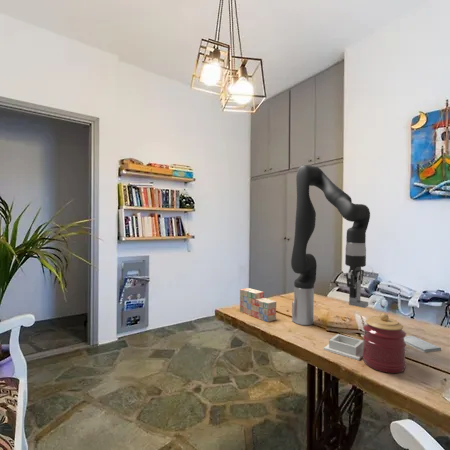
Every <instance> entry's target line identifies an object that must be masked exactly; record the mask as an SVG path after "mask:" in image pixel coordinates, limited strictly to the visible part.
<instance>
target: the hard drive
mask: <svg viewBox="0 0 450 450" xmlns="http://www.w3.org/2000/svg"><path fill="white" fill-rule="evenodd" d="M404 341H405V343H406V346H407V345H408V346H410V347H412V348H414V349H415V350H419V351H420V352H422V353H430V352H437V351H442V347H439V346H437V345H435V344H433V343H431V342H428V341H426V340H424V339H421V338H419V337H416V336H415V335H406V336H405V337H404Z"/></svg>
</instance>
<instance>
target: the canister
mask: <svg viewBox="0 0 450 450" xmlns="http://www.w3.org/2000/svg"><path fill="white" fill-rule="evenodd" d="M365 322H366V324H365V325H363V330H364V334H363V337H362V338H363V341H364V352H363V357H362V358H363V362H364V364H366V365H367V366H368V367H370V368H371V369H374V370H376V371H379V372H383V373H388V374H398V373H402V372H403V371H405V368H406V363H407V361H406V346H407V344H406V343H405V341H404V337H405V336H407V333H406V332H405V330H403V329H404V325H403V324H402V323H400V322H399V321H398V320H397V319H394V318H391V317H389V315H388V314H387V313H386V312H385V313H384V312H382V313H380V316H379V315H377V316H371V317H370V318H368V319H366V320H365Z"/></svg>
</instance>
